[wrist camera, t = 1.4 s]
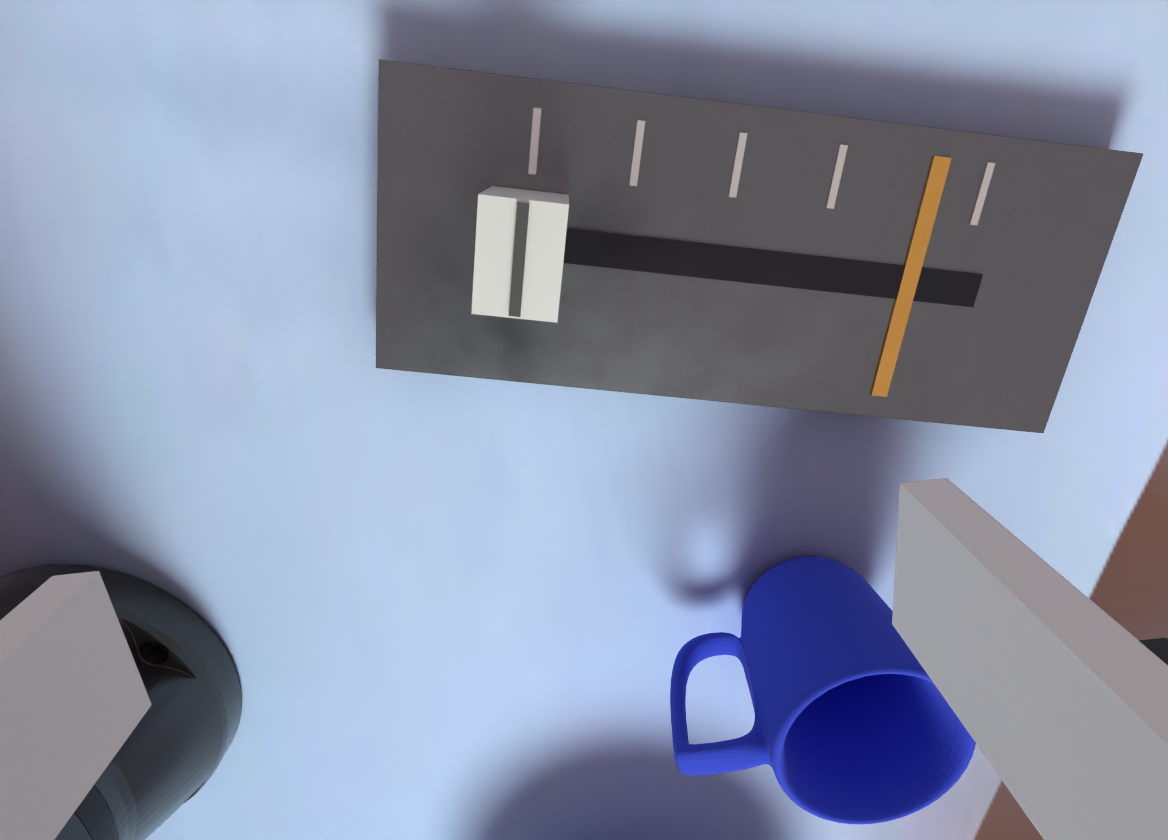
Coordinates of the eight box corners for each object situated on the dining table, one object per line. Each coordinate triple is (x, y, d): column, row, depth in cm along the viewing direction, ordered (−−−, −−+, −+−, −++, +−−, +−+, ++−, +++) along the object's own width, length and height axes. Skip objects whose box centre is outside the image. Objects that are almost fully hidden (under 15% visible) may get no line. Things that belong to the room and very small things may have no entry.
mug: (638, 566, 37) (662, 707, 28) (873, 521, 37) (977, 650, 28) (665, 691, 40) (695, 856, 31) (883, 651, 40) (980, 808, 30)
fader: (486, 287, 30) (470, 314, 25) (492, 185, 29) (477, 194, 24) (558, 294, 30) (557, 323, 25) (568, 194, 29) (569, 204, 24)
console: (386, 355, 33) (375, 368, 31) (391, 65, 29) (378, 59, 27) (1017, 417, 35) (1044, 434, 33) (1108, 153, 31) (1145, 153, 29)
